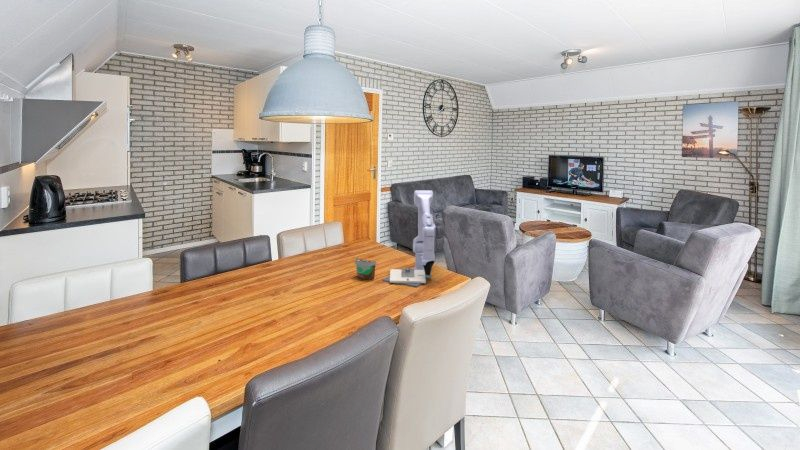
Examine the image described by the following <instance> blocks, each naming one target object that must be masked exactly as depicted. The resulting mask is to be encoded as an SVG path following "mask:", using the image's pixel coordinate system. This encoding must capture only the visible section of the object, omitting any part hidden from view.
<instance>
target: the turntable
mask: <svg viewBox="0 0 800 450" xmlns="http://www.w3.org/2000/svg"><path fill="white" fill-rule="evenodd" d="M401 269H402V268H401ZM401 269H393V268H392V269H390V270H389V271H390V272H389V275H390V282H389V283H390V284H395V283H422V284H426V283H427V280H426V279H425V278H428V279H430V278H432V272H431V273H430V275H426V274H425V271H424V270H414V277H401Z"/></svg>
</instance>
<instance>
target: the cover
mask: <svg viewBox="0 0 800 450" xmlns="http://www.w3.org/2000/svg"><path fill="white" fill-rule="evenodd" d="M401 277H414V269H412V268H410V267H406V268H401Z"/></svg>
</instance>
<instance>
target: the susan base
mask: <svg viewBox="0 0 800 450" xmlns="http://www.w3.org/2000/svg"><path fill="white" fill-rule="evenodd" d="M425 279H426V281H427V280H428V279H429V278H425ZM382 282H385V283H390V274H389V275H388V276H386V277H384V278H383V279H382ZM394 284H396V285H401V286H406V287H412V288H419V287H420V286H421V285H422V284H423V283H394Z"/></svg>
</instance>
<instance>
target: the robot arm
mask: <svg viewBox="0 0 800 450" xmlns="http://www.w3.org/2000/svg"><path fill="white" fill-rule="evenodd" d="M433 201H434V192H433V190H432V189H431V190H430V189H429V190H428V189H427V190H424V189H423V190H420V189H418V190H417V189H415V190H414V192H413V203H414V206H416V207H417V229H418V230H417V233H418V234H417V236H416V237H414V238H413V239H412V240H413V241H412V252H413V253H414V254H415V257H414V264H415V265H414V267H412V268H411V269H414V270H424V274H426V275H430V273H431V274H432V268H433V266H434V264H435V258H436V257H435V256H436V255H435V239H436V236H437V228H436V227H437V226H436V225H435V223H434V217H433V214H432V213H431V204H432V202H433Z"/></svg>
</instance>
